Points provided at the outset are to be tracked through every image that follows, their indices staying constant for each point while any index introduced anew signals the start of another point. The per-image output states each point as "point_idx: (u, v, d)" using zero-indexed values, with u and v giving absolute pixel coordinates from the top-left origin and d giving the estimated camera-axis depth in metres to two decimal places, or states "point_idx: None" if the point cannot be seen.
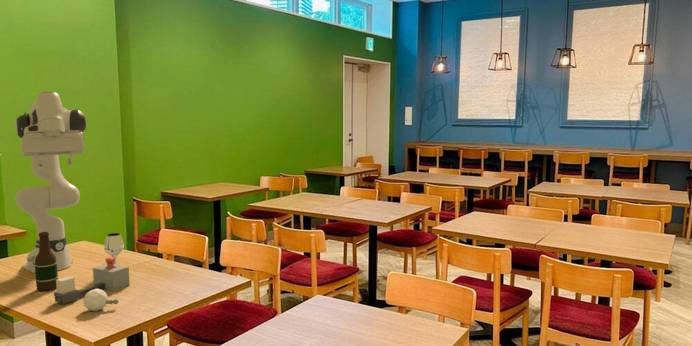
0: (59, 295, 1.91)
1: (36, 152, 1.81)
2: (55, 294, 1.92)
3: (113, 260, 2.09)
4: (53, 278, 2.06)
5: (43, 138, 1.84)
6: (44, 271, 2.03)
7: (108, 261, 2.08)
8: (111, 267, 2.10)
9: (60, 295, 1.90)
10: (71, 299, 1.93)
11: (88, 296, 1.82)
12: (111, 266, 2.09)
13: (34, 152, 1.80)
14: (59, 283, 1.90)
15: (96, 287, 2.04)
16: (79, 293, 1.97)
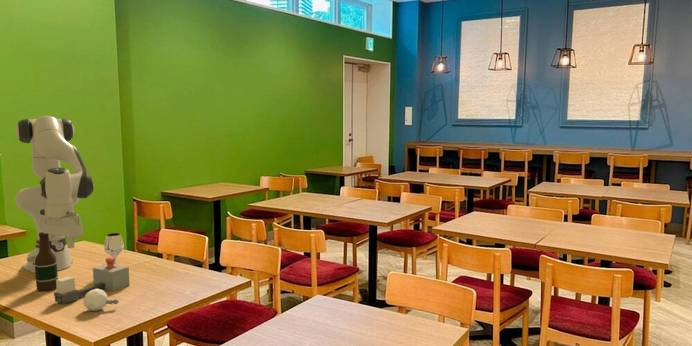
0: (59, 295, 1.91)
1: (49, 233, 1.92)
2: (55, 294, 1.92)
3: (113, 260, 2.09)
4: (53, 278, 2.06)
5: (52, 220, 1.90)
6: (44, 271, 2.03)
7: (108, 261, 2.08)
8: (111, 267, 2.10)
9: (60, 295, 1.90)
10: (71, 299, 1.93)
11: (88, 296, 1.82)
12: (111, 266, 2.09)
13: (48, 233, 1.92)
14: (59, 283, 1.90)
15: (96, 287, 2.04)
16: (79, 293, 1.97)
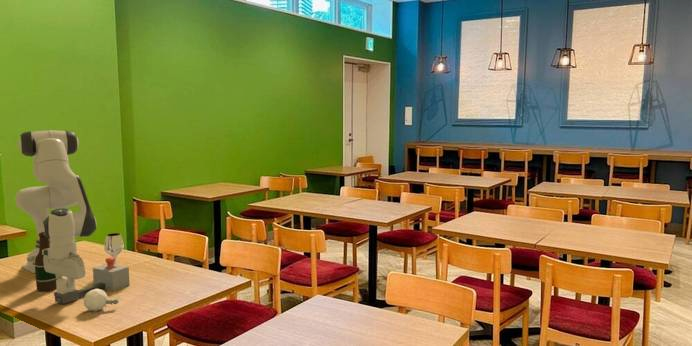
0: (59, 295, 1.91)
1: None
2: (55, 294, 1.92)
3: (113, 260, 2.09)
4: (53, 278, 2.06)
5: (55, 260, 1.92)
6: (44, 271, 2.03)
7: (108, 261, 2.08)
8: (111, 267, 2.10)
9: (60, 295, 1.90)
10: (71, 299, 1.93)
11: (88, 296, 1.82)
12: (111, 266, 2.09)
13: None
14: (59, 283, 1.90)
15: (96, 287, 2.04)
16: (79, 293, 1.97)
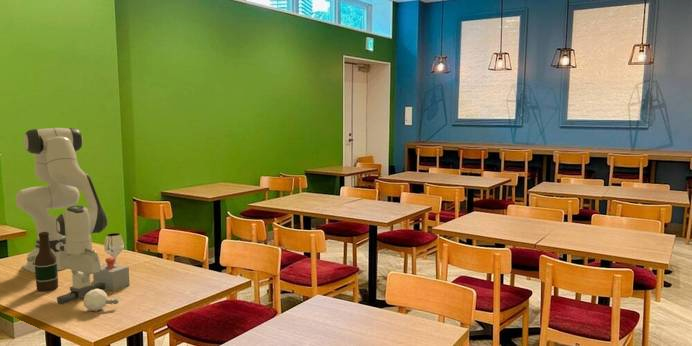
0: (75, 290, 1.96)
1: (68, 268, 2.00)
2: (71, 289, 1.97)
3: (113, 260, 2.09)
4: (53, 278, 2.06)
5: (71, 256, 1.98)
6: (44, 271, 2.03)
7: (108, 261, 2.08)
8: (111, 267, 2.10)
9: (76, 290, 1.96)
10: None
11: (88, 296, 1.82)
12: (111, 266, 2.09)
13: (67, 268, 2.00)
14: (75, 278, 1.96)
15: (96, 287, 2.04)
16: None
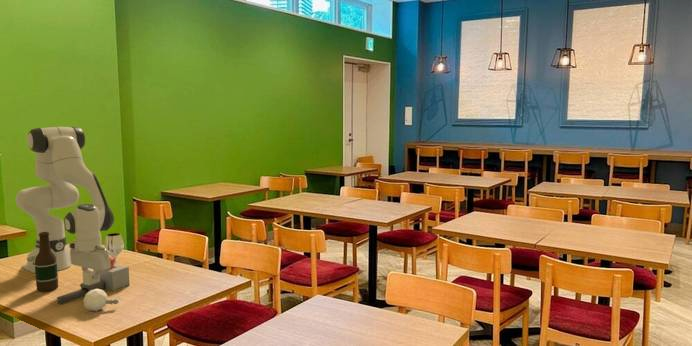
0: (85, 286, 2.00)
1: (78, 265, 2.04)
2: (81, 285, 2.01)
3: (113, 260, 2.09)
4: (53, 278, 2.06)
5: (81, 253, 2.02)
6: (44, 271, 2.03)
7: None
8: (111, 267, 2.10)
9: (86, 286, 2.00)
10: None
11: (88, 296, 1.82)
12: (111, 266, 2.09)
13: (77, 265, 2.04)
14: (86, 275, 2.00)
15: None
16: (79, 293, 1.97)
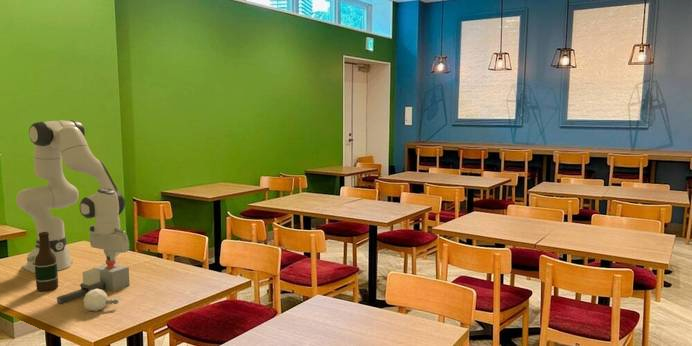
0: (85, 286, 2.00)
1: (98, 248, 2.11)
2: (81, 285, 2.01)
3: (113, 261, 2.10)
4: (53, 278, 2.06)
5: (101, 236, 2.09)
6: (44, 271, 2.03)
7: (108, 262, 2.08)
8: (111, 268, 2.10)
9: (86, 286, 2.00)
10: None
11: (88, 296, 1.82)
12: (111, 267, 2.10)
13: None
14: (86, 275, 2.00)
15: None
16: (79, 293, 1.97)
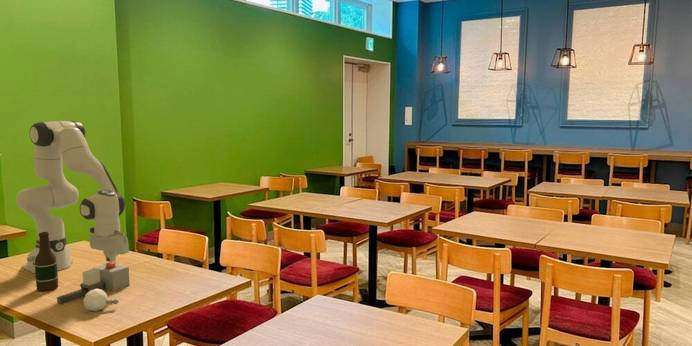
0: (85, 286, 2.00)
1: (97, 249, 2.11)
2: (81, 285, 2.01)
3: (113, 265, 2.10)
4: (53, 278, 2.06)
5: (101, 238, 2.09)
6: (44, 271, 2.03)
7: (108, 266, 2.09)
8: None
9: (86, 286, 2.00)
10: None
11: (88, 296, 1.82)
12: None
13: None
14: (86, 275, 2.00)
15: None
16: (79, 293, 1.97)
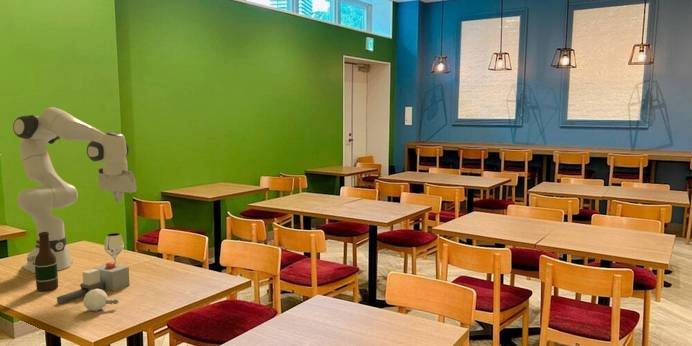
0: (85, 286, 2.00)
1: None
2: (81, 285, 2.01)
3: (113, 265, 2.10)
4: (53, 278, 2.06)
5: (109, 178, 2.18)
6: (44, 271, 2.03)
7: (108, 266, 2.09)
8: None
9: (86, 286, 2.00)
10: None
11: (88, 296, 1.82)
12: None
13: None
14: (86, 275, 2.00)
15: None
16: (79, 293, 1.97)
